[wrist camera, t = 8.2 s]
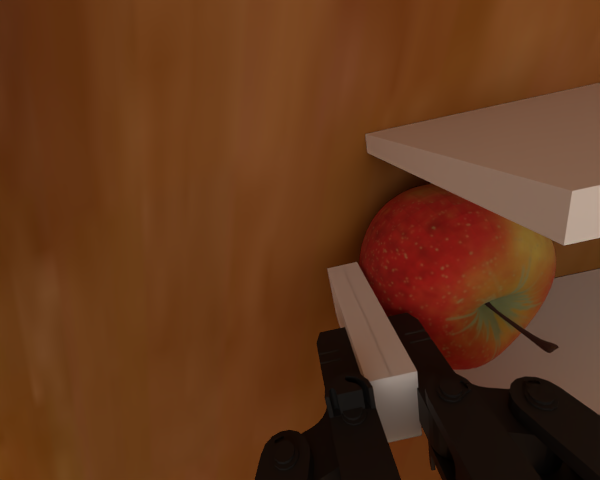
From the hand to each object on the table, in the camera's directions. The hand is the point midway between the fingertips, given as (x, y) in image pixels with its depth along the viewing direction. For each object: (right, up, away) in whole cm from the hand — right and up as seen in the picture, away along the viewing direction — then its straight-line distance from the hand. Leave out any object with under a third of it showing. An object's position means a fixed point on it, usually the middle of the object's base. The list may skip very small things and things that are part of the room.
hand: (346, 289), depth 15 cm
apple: (+4, +3, +4) cm, 7 cm away
